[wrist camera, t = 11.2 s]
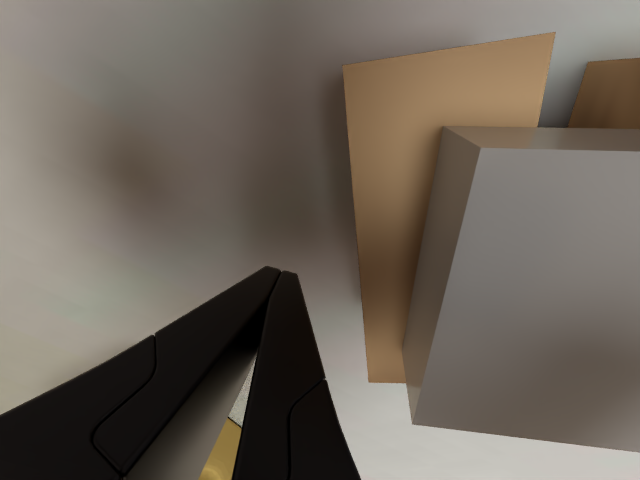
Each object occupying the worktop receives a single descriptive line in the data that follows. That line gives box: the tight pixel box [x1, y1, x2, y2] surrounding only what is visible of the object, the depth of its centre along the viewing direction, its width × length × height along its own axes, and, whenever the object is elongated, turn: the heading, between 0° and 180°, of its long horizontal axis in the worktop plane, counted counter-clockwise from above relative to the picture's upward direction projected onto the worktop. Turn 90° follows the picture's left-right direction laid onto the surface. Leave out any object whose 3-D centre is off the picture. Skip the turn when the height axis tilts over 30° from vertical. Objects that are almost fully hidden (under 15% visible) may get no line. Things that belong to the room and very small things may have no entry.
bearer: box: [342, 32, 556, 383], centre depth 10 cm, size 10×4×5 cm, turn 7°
